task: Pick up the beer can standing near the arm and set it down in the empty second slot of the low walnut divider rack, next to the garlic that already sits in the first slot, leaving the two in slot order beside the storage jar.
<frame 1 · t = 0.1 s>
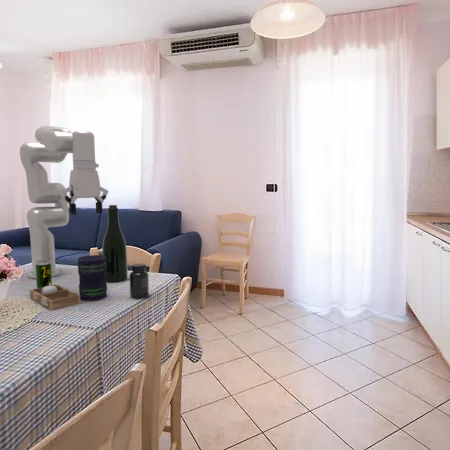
hand: (86, 213, 131), 31 cm above the table, tool pointing down, fingers open, 9 cm apart
wine bottle: (115, 279, 159), on the table
supplement box: (108, 274, 169), on the table
slot rack: (54, 300, 130), on the table
supplement bottle: (139, 296, 135), on the table
storage jar: (93, 297, 134), on the table
beer can: (44, 291, 142), on the table
garlic: (49, 298, 134), resting in slot rack
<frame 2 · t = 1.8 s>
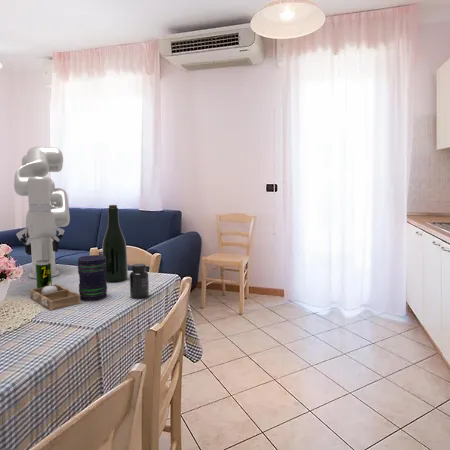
hand: (42, 253, 140), 15 cm above the table, tool pointing down, fingers open, 9 cm apart
nothing on the table moved.
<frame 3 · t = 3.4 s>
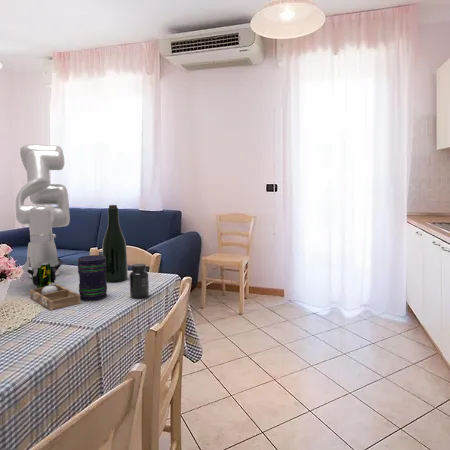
hand: (44, 283, 142), 3 cm above the table, tool pointing down, fingers closed on beer can, 5 cm apart
beer can: (44, 291, 142), on the table, touching gripper
everything else where it was.
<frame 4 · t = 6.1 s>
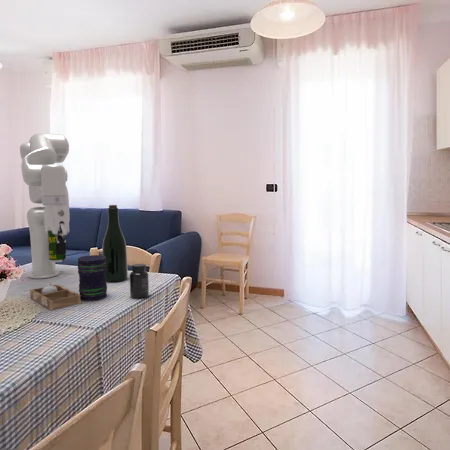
hand: (57, 252, 125), 18 cm above the table, tool pointing down, fingers closed on beer can, 5 cm apart
beer can: (57, 261, 126), point 15 cm above the table, touching gripper
everything else where it was.
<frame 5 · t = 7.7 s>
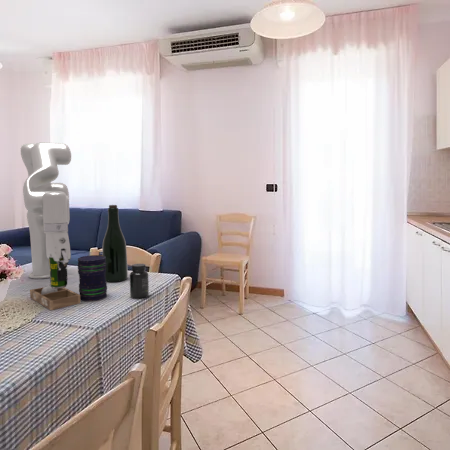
hand: (58, 278, 126), 9 cm above the table, tool pointing down, fingers closed on beer can, 5 cm apart
beer can: (59, 287, 126), point 6 cm above the table, touching gripper
everything else where it was.
when the fingers open (4 cm above the table, at t = 9.0 s): beer can drops 1 cm, resting on slot rack.
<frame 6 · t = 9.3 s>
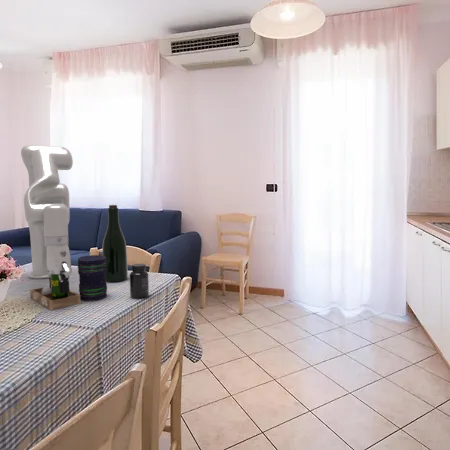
hand: (59, 289, 127), 5 cm above the table, tool pointing down, fingers open, 7 cm apart
beer can: (60, 303, 127), resting on slot rack
everything else where it was.
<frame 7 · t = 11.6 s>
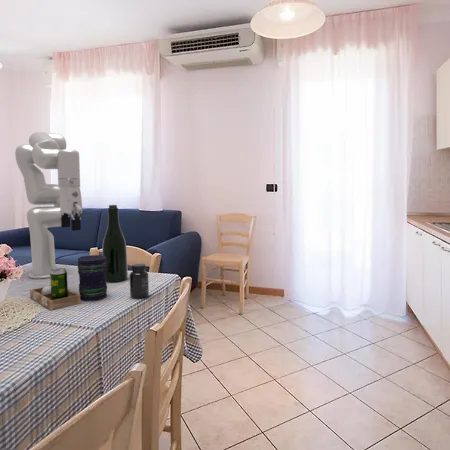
hand: (70, 228, 137), 25 cm above the table, tool pointing down, fingers open, 9 cm apart
nothing on the table moved.
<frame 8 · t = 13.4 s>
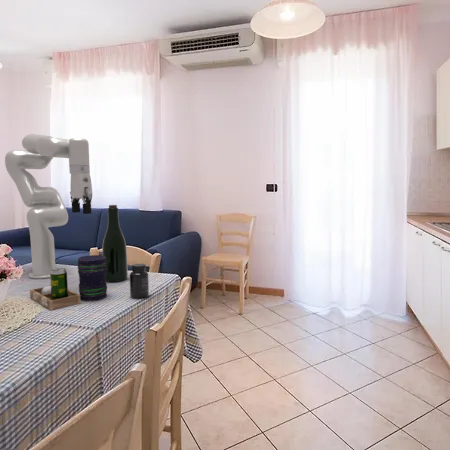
hand: (81, 213, 145), 30 cm above the table, tool pointing down, fingers open, 9 cm apart
nothing on the table moved.
at the end: beer can 0.0 cm from the target spot on the slot rack, point 0.0 cm above the slot rack's base; beer can tilted 0°; garlic moved 0.3 cm from its start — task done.
